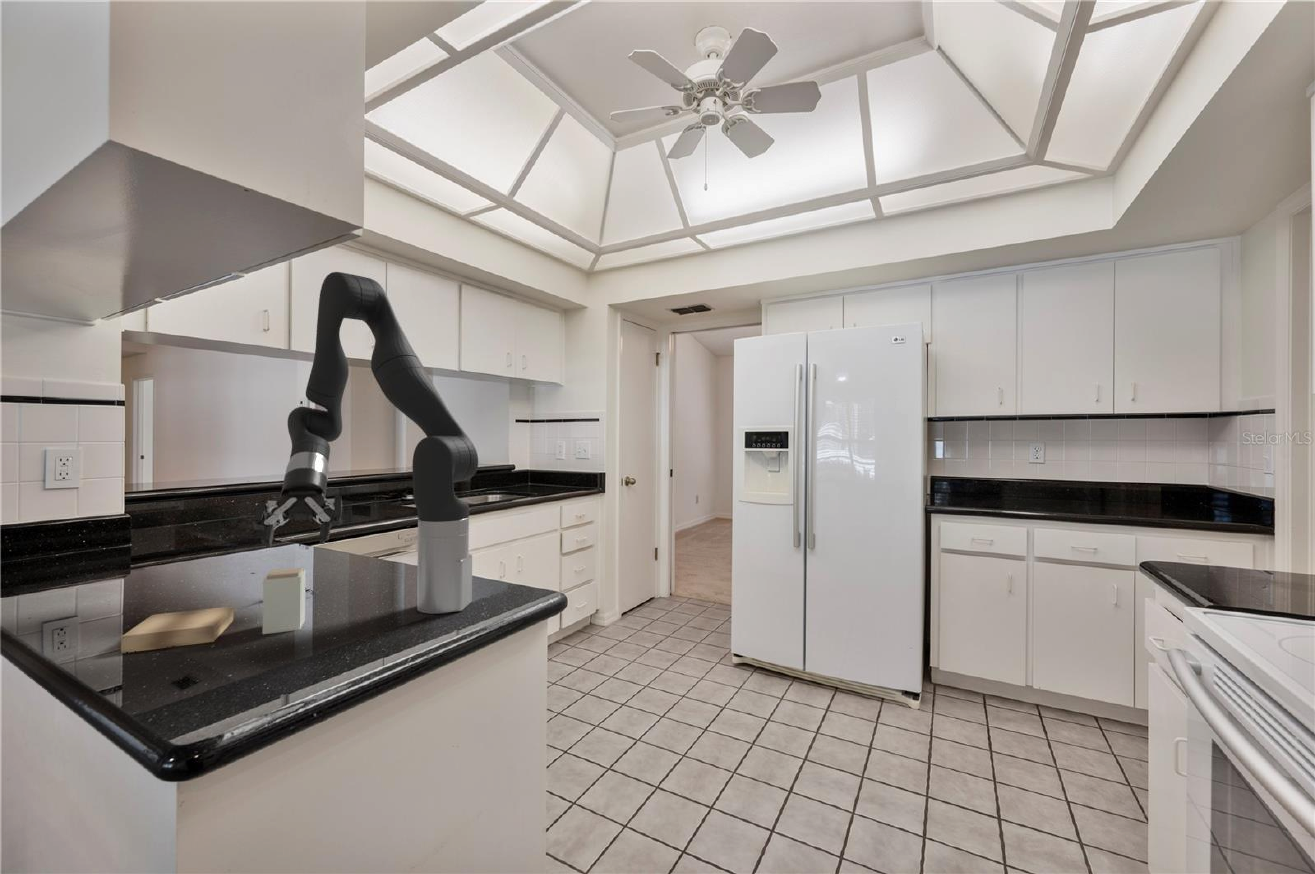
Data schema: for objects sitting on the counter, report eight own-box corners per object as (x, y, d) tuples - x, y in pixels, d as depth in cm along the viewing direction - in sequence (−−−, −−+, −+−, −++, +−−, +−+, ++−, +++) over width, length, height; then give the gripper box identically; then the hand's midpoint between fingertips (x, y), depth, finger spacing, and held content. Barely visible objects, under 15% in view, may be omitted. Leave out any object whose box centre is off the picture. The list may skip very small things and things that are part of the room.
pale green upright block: (304, 620, 94) (305, 566, 94) (299, 629, 90) (300, 573, 90) (269, 624, 92) (270, 569, 92) (262, 634, 87) (263, 576, 88)
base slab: (233, 622, 94) (233, 606, 94) (213, 644, 84) (213, 625, 84) (152, 632, 89) (152, 614, 89) (121, 656, 79) (121, 636, 79)
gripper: (261, 467, 104) (245, 534, 94) (344, 466, 110) (337, 528, 100) (267, 491, 109) (252, 557, 99) (346, 489, 115) (340, 551, 105)
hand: (295, 543), depth 99 cm, fingers open, 8 cm apart
